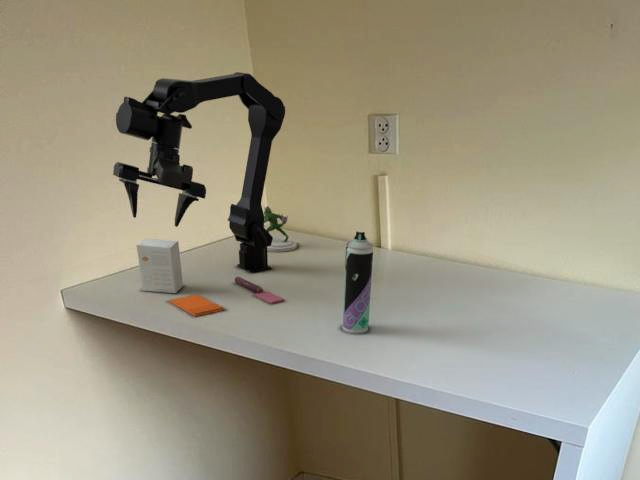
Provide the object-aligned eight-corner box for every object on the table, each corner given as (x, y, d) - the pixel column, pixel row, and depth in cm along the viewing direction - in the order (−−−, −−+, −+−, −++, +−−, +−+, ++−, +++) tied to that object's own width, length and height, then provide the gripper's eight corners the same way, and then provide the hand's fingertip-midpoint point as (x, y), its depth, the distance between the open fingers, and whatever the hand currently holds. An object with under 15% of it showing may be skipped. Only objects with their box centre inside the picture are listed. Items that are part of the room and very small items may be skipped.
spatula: (230, 283, 163) (229, 277, 162) (242, 281, 165) (242, 274, 164) (271, 304, 153) (271, 297, 152) (283, 301, 155) (283, 294, 154)
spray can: (349, 335, 141) (354, 236, 129) (338, 325, 145) (341, 229, 133) (372, 331, 143) (379, 234, 132) (360, 322, 147) (366, 227, 135)
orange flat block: (197, 295, 155) (197, 293, 154) (223, 310, 148) (223, 307, 148) (169, 301, 151) (169, 299, 150) (195, 316, 144) (195, 313, 144)
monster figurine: (274, 237, 199) (273, 200, 193) (305, 246, 194) (305, 208, 188) (245, 245, 191) (244, 207, 185) (277, 254, 186) (277, 215, 180)
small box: (183, 286, 160) (179, 240, 154) (175, 294, 155) (171, 247, 149) (150, 283, 160) (145, 237, 154) (141, 291, 155) (135, 244, 149)
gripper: (129, 135, 133) (120, 218, 138) (219, 161, 143) (207, 237, 149) (116, 132, 141) (108, 210, 147) (203, 156, 151) (192, 228, 157)
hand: (155, 222), depth 149 cm, fingers open, 9 cm apart
